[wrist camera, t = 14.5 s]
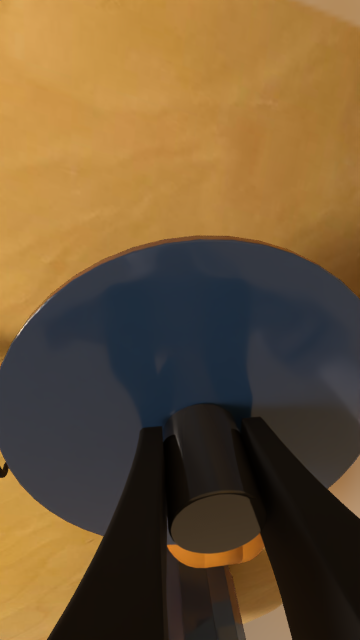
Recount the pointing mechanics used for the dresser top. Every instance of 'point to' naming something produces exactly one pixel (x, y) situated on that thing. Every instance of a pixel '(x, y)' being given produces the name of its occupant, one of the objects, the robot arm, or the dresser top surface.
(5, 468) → the sunglasses
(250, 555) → the orange banded oval part
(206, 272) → the lid
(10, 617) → the dresser top surface
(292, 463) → the robot arm
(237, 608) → the pot
